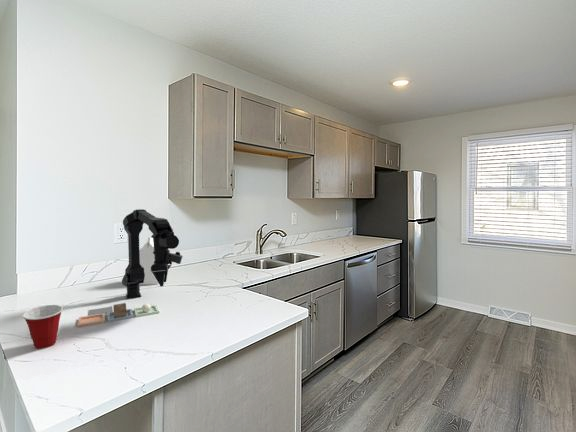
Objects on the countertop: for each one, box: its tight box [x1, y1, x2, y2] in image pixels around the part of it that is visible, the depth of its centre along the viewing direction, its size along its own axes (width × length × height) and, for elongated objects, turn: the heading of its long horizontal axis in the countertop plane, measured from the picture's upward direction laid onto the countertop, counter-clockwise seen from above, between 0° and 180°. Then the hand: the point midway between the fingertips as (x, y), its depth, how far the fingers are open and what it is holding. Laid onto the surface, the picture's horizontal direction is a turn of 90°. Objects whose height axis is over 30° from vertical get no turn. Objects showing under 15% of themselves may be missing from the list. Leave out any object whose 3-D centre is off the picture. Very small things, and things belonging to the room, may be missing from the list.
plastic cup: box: [22, 304, 64, 350], centre depth 107 cm, size 11×11×12 cm
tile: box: [87, 306, 114, 316], centre depth 137 cm, size 9×9×1 cm
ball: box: [141, 303, 152, 312], centre depth 137 cm, size 4×4×4 cm
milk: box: [139, 236, 159, 285], centre depth 185 cm, size 12×12×26 cm
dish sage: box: [133, 304, 160, 318], centre depth 137 cm, size 9×9×1 cm
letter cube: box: [112, 302, 127, 318], centre depth 132 cm, size 4×4×5 cm
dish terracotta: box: [76, 313, 106, 328], centre depth 127 cm, size 9×9×1 cm
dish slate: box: [106, 308, 134, 323], centre depth 132 cm, size 9×9×1 cm
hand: (163, 284), depth 139 cm, fingers open, 9 cm apart
